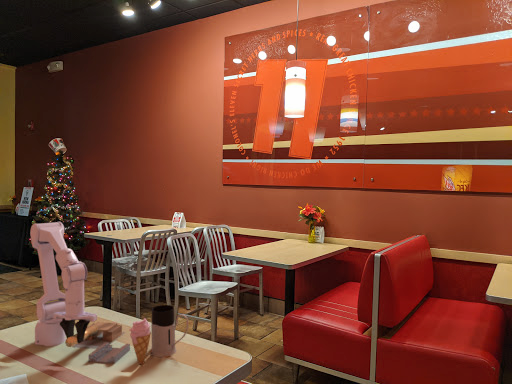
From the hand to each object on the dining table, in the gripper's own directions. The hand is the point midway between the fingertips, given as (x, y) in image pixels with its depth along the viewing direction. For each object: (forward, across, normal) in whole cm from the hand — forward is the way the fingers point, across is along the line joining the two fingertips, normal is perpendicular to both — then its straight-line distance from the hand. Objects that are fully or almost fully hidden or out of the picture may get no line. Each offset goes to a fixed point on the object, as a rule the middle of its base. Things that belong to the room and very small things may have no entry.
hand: (75, 341), depth 129 cm
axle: (+1, 0, +4) cm, 4 cm away
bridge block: (+6, 0, +14) cm, 15 cm away
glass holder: (+6, +29, +9) cm, 31 cm away
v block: (+6, +11, +2) cm, 13 cm away
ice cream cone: (+6, +23, 0) cm, 24 cm away
